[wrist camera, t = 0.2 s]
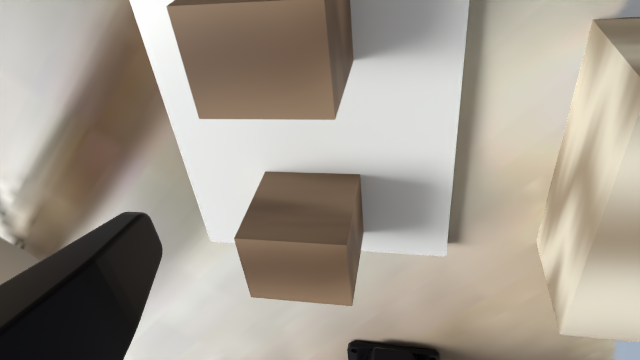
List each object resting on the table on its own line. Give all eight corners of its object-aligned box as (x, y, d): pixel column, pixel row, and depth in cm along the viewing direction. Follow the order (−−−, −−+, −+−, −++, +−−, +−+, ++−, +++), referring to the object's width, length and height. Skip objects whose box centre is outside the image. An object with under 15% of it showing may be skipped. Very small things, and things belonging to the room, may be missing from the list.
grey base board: (445, 243, 26) (446, 256, 25) (216, 230, 29) (210, 241, 28) (476, -104, 16) (478, -100, 15) (120, -72, 19) (107, -67, 18)
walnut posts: (363, 232, 26) (351, 306, 22) (277, 227, 27) (251, 297, 23) (347, -42, 17) (324, -2, 13) (221, -34, 18) (165, 6, 14)
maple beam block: (627, 244, 24) (675, 345, 20) (535, 239, 25) (560, 334, 20) (725, 13, 17) (836, 86, 12) (591, 18, 18) (648, 87, 13)
